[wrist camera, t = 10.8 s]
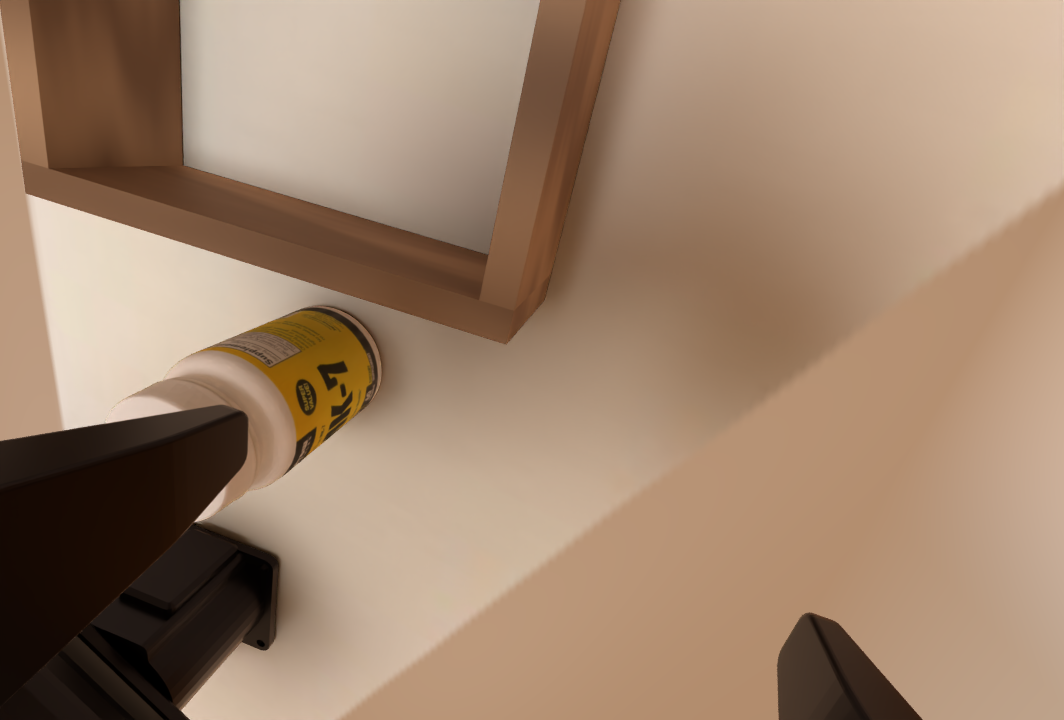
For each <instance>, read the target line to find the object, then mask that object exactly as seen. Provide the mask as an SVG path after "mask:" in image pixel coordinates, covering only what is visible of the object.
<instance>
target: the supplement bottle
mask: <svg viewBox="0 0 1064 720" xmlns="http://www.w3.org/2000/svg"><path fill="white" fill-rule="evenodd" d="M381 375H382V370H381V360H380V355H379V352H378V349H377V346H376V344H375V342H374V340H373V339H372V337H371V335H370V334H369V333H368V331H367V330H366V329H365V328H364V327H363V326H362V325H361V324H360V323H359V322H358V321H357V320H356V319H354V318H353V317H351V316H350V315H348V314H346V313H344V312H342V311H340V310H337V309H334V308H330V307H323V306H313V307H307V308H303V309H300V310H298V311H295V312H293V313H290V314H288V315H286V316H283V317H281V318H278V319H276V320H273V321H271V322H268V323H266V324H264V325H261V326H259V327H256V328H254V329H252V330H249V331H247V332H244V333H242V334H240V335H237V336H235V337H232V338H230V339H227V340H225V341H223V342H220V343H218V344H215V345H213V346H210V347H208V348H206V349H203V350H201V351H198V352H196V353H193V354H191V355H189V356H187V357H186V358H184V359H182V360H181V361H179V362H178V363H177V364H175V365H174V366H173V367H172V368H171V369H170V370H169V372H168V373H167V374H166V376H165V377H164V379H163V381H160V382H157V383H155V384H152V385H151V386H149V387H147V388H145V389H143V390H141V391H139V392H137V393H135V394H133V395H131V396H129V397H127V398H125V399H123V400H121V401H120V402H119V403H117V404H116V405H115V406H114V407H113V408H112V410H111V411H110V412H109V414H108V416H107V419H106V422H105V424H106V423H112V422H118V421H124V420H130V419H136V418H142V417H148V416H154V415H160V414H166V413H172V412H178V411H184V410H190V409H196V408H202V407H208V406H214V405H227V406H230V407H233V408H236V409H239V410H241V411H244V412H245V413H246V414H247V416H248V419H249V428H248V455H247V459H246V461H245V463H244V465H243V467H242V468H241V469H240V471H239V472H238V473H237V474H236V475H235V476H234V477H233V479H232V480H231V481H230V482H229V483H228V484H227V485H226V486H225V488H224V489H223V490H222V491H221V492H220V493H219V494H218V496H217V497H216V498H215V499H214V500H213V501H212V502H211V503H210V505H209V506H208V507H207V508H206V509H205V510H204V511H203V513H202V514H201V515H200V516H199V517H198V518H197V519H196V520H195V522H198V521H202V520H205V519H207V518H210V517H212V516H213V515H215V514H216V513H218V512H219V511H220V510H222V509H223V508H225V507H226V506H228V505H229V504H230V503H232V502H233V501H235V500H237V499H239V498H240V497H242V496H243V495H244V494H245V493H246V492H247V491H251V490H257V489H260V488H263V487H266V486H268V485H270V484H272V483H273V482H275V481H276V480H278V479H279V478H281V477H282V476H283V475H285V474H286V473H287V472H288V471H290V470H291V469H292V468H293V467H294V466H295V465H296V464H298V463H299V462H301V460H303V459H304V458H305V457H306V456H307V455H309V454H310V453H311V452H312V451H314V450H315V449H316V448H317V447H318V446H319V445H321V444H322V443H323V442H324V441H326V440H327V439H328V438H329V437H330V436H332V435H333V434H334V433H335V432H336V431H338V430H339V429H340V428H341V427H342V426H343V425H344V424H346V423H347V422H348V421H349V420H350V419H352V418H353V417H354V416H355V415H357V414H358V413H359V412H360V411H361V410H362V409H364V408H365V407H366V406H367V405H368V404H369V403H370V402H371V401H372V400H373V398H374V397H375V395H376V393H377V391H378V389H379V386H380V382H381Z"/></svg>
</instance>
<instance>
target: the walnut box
mask: <svg viewBox="0 0 1064 720" xmlns="http://www.w3.org/2000/svg"><path fill="white" fill-rule="evenodd" d="M620 1H621V0H540V5H539V10H538V15H537V20H536V25H535V29H534V34H533V39H532V44H531V49H530V54H529V59H528V64H527V69H526V74H525V78H524V83H523V88H522V93H521V98H520V103H519V108H518V113H517V118H516V123H515V127H514V132H513V137H512V142H511V147H510V152H509V157H508V162H507V167H506V172H505V176H504V181H503V186H502V191H501V196H500V201H499V206H498V211H497V216H496V221H495V225H494V230H493V235H492V240H491V245H490V250H489V255H486V254H483V253H479V252H476V251H472V250H469V249H466V248H462V247H459V246H455V245H452V244H449V243H445V242H442V241H438V240H435V239H432V238H428V237H425V236H421V235H418V234H415V233H411V232H408V231H404V230H401V229H397V228H394V227H391V226H387V225H384V224H380V223H377V222H374V221H370V220H367V219H363V218H360V217H357V216H353V215H350V214H346V213H343V212H340V211H336V210H333V209H329V208H326V207H323V206H319V205H316V204H312V203H309V202H306V201H302V200H299V199H295V198H292V197H289V196H285V195H282V194H278V193H275V192H272V191H268V190H265V189H261V188H258V187H255V186H251V185H248V184H244V183H241V182H238V181H234V180H231V179H227V178H224V177H221V176H217V175H214V174H210V173H207V172H204V171H200V170H197V169H193V168H190V167H186V166H183V155H182V113H181V71H180V28H179V0H0V9H1V16H2V23H3V31H4V38H5V45H6V53H7V60H8V67H9V75H10V82H11V89H12V97H13V104H14V111H15V119H16V126H17V133H18V141H19V148H20V155H21V163H22V170H23V177H24V184H25V192H26V194H30V195H33V196H36V197H39V198H42V199H46V200H49V201H52V202H55V203H58V204H61V205H65V206H68V207H71V208H74V209H77V210H80V211H84V212H87V213H90V214H93V215H96V216H100V217H103V218H106V219H109V220H112V221H115V222H119V223H122V224H125V225H128V226H131V227H135V228H138V229H141V230H144V231H147V232H150V233H154V234H157V235H160V236H163V237H166V238H169V239H173V240H176V241H179V242H182V243H185V244H189V245H192V246H195V247H198V248H201V249H204V250H208V251H211V252H214V253H217V254H220V255H223V256H227V257H230V258H233V259H236V260H239V261H243V262H246V263H249V264H252V265H255V266H258V267H262V268H265V269H268V270H271V271H274V272H278V273H281V274H284V275H287V276H290V277H293V278H297V279H300V280H303V281H306V282H309V283H312V284H316V285H319V286H322V287H325V288H328V289H332V290H335V291H338V292H341V293H344V294H347V295H351V296H354V297H357V298H360V299H363V300H366V301H370V302H373V303H376V304H379V305H382V306H386V307H389V308H392V309H395V310H398V311H401V312H405V313H408V314H411V315H414V316H417V317H421V318H424V319H427V320H430V321H433V322H436V323H440V324H443V325H446V326H449V327H452V328H455V329H459V330H462V331H465V332H468V333H471V334H475V335H478V336H481V337H484V338H487V339H490V340H494V341H497V342H500V343H503V344H507V343H508V342H509V341H510V339H511V338H512V337H513V336H514V335H515V334H516V333H517V331H518V330H519V329H520V328H521V327H522V326H523V324H524V323H525V322H526V321H527V320H528V319H529V317H530V316H531V315H532V314H533V313H534V312H535V310H536V309H537V308H538V307H539V306H540V305H541V304H542V302H543V301H544V300H545V296H546V292H547V288H548V284H549V280H550V276H551V272H552V268H553V264H554V260H555V257H556V253H557V249H558V245H559V241H560V237H561V233H562V229H563V225H564V221H565V217H566V213H567V209H568V206H569V202H570V198H571V194H572V190H573V186H574V182H575V178H576V174H577V170H578V166H579V162H580V158H581V154H582V151H583V147H584V143H585V139H586V135H587V131H588V127H589V123H590V119H591V115H592V111H593V107H594V103H595V99H596V96H597V92H598V88H599V84H600V80H601V76H602V72H603V68H604V64H605V60H606V56H607V52H608V48H609V44H610V41H611V37H612V33H613V29H614V25H615V21H616V17H617V13H618V9H619V5H620Z"/></svg>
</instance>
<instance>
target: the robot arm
mask: <svg viewBox="0 0 1064 720" xmlns="http://www.w3.org/2000/svg"><path fill="white" fill-rule="evenodd" d="M248 428H249V419H248V416H247V414H246V413H245V412H244V411H241V410H239V409H236V408H233V407H230V406H227V405H214V406H208V407H202V408H196V409H190V410H184V411H178V412H172V413H166V414H160V415H154V416H148V417H142V418H136V419H130V420H124V421H118V422H112V423H106V424H100V425H94V426H88V427H82V428H76V429H70V430H64V431H58V432H52V433H46V434H40V435H35V436H28V437H22V438H16V439H10V440H4V441H0V720H190V719H189V718H187V717H186V716H185V715H184V714H183V713H182V712H181V710H182V709H183V708H184V706H185V705H186V704H187V703H188V702H189V701H190V700H191V698H192V697H193V696H194V695H195V694H196V693H197V692H198V690H199V689H200V688H201V687H202V686H203V685H204V684H205V683H206V681H207V680H208V679H209V678H210V677H211V676H212V675H213V673H214V672H215V671H216V670H217V669H218V668H219V667H220V665H221V664H222V663H223V662H224V661H225V660H226V659H227V658H228V656H229V655H230V654H231V653H232V652H233V651H234V650H235V648H236V647H237V646H238V645H239V644H240V643H241V642H243V643H246V644H248V645H250V646H253V647H255V648H258V649H260V650H267V649H269V647H270V646H271V645H272V644H273V642H274V630H275V614H276V598H277V581H278V562H277V560H276V559H275V558H274V557H273V556H271V555H269V554H267V553H264V552H262V551H259V550H256V549H254V548H251V547H249V546H246V545H244V544H241V543H238V542H236V541H233V540H231V539H228V538H226V537H223V536H221V535H218V534H215V533H213V532H210V531H208V530H205V529H203V528H200V527H197V526H195V525H192V524H193V523H194V522H195V520H196V519H197V518H198V517H199V516H200V515H201V514H202V513H203V511H204V510H205V509H206V508H207V507H208V506H209V505H210V503H211V502H212V501H213V500H214V499H215V498H216V497H217V496H218V494H219V493H220V492H221V491H222V490H223V489H224V488H225V486H226V485H227V484H228V483H229V482H230V481H231V480H232V479H233V477H234V476H235V475H236V474H237V473H238V472H239V471H240V469H241V468H242V467H243V465H244V463H245V461H246V459H247V455H248ZM777 677H778V712H779V720H922V718H921V717H920V716H919V715H918V714H917V713H916V712H915V711H914V709H913V708H912V707H911V706H910V705H909V704H908V703H907V701H906V700H905V699H904V698H903V697H902V696H901V694H900V693H899V692H898V691H897V690H896V689H895V688H894V686H893V685H892V684H891V683H890V682H889V681H888V680H887V679H886V677H885V676H884V675H883V674H882V673H881V672H880V670H879V669H877V667H876V666H875V665H874V664H873V662H872V661H871V660H870V659H869V658H868V657H867V656H866V654H865V653H864V652H863V651H862V650H861V649H860V647H859V646H858V645H857V644H856V643H855V642H854V641H853V640H852V638H851V637H850V636H849V635H848V634H847V633H846V632H845V630H844V629H843V628H842V627H841V626H840V625H839V624H838V623H837V622H835V621H833V620H831V619H828V618H825V617H822V616H819V615H816V614H814V613H805V614H804V615H802V616H801V617H800V619H799V620H798V622H797V624H796V625H795V627H794V629H793V630H792V632H791V634H790V635H789V637H788V639H787V640H786V642H785V644H784V645H783V647H782V649H781V651H780V654H779V657H778V664H777Z"/></svg>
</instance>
